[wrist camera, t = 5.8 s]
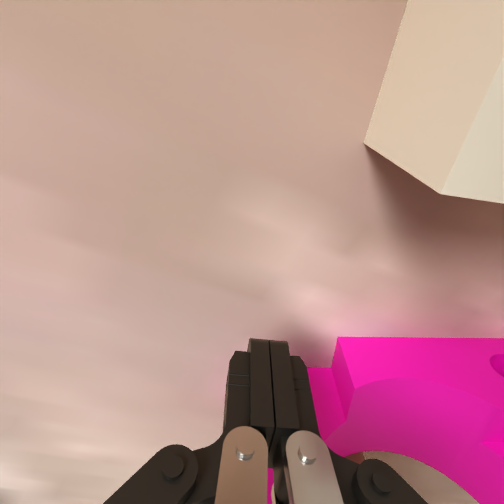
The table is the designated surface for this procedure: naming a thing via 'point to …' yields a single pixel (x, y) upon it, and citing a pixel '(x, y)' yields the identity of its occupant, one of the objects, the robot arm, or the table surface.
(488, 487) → the toy block
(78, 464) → the table surface
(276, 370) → the robot arm
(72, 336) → the table surface
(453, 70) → the beige cube
